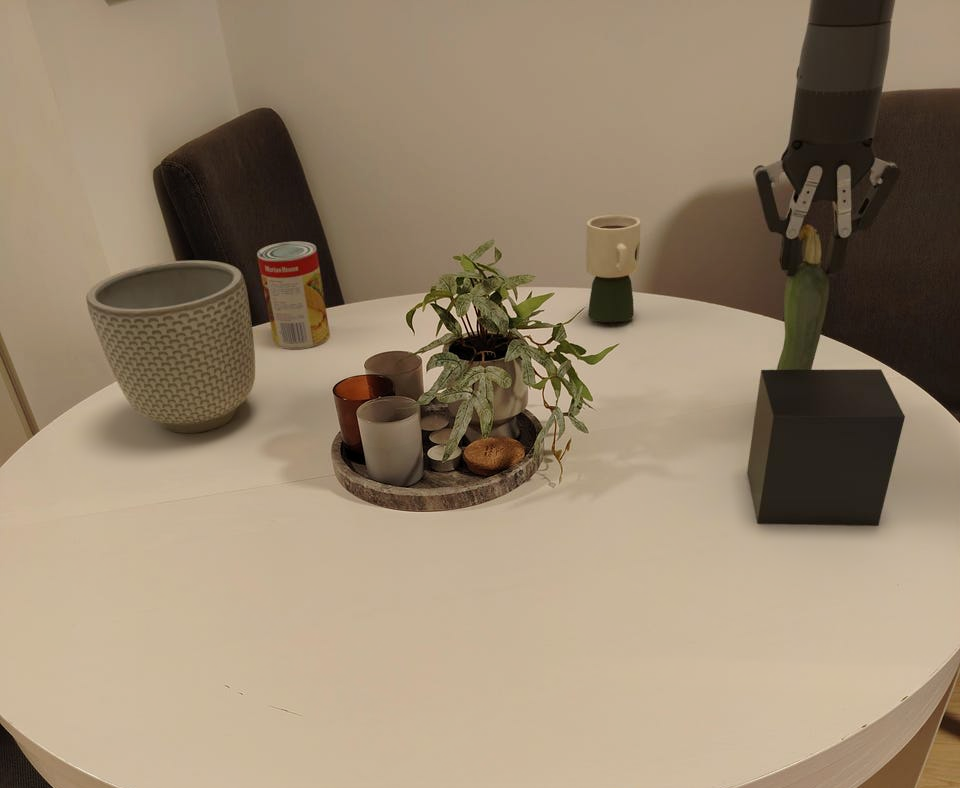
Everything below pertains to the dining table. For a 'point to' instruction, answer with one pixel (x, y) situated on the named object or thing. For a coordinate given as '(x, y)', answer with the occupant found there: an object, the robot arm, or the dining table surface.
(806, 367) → the vegetable
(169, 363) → the planter
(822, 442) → the matte black cube
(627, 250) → the character mug
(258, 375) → the dining table surface
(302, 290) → the canned food
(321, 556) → the dining table surface
